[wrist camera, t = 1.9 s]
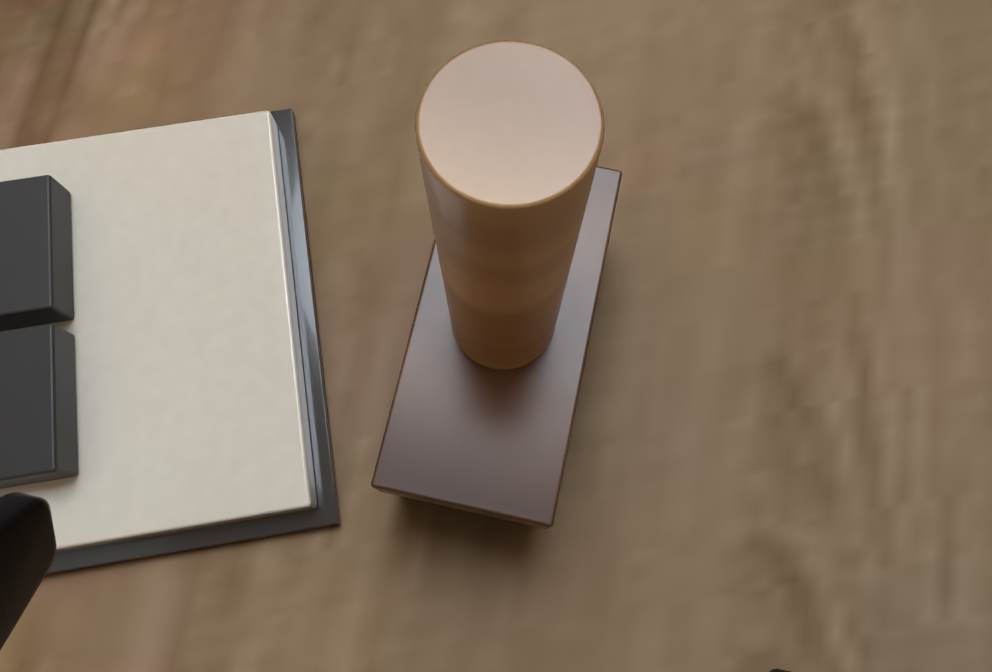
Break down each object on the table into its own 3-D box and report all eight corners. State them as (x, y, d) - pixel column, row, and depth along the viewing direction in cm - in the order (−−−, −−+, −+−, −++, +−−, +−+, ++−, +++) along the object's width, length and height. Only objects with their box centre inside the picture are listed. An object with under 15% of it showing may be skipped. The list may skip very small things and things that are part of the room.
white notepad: (294, 113, 26) (284, 92, 24) (340, 524, 22) (331, 522, 21) (-186, 184, 25) (-219, 165, 24) (-215, 618, 21) (-256, 622, 20)
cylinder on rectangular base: (543, 532, 22) (607, 498, 10) (389, 497, 22) (253, 419, 10) (604, 225, 24) (719, -124, 12) (465, 196, 25) (434, -173, 12)
